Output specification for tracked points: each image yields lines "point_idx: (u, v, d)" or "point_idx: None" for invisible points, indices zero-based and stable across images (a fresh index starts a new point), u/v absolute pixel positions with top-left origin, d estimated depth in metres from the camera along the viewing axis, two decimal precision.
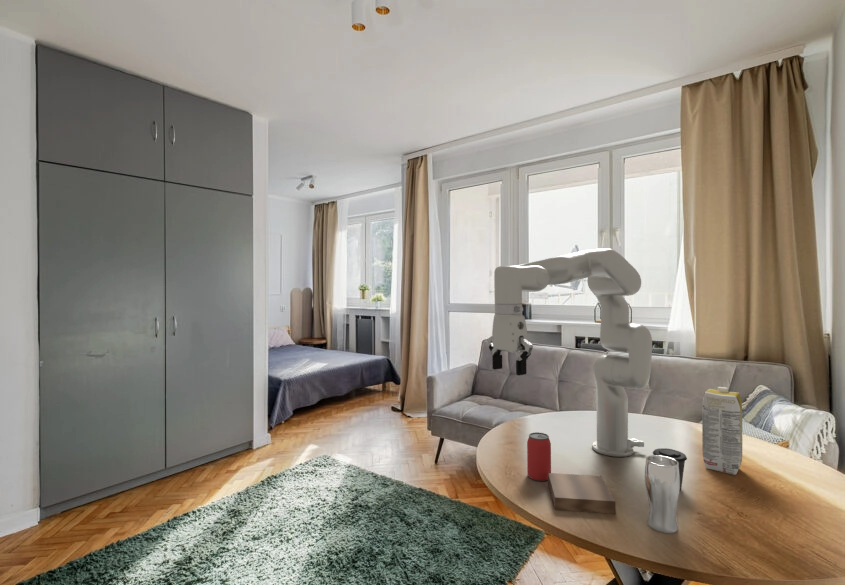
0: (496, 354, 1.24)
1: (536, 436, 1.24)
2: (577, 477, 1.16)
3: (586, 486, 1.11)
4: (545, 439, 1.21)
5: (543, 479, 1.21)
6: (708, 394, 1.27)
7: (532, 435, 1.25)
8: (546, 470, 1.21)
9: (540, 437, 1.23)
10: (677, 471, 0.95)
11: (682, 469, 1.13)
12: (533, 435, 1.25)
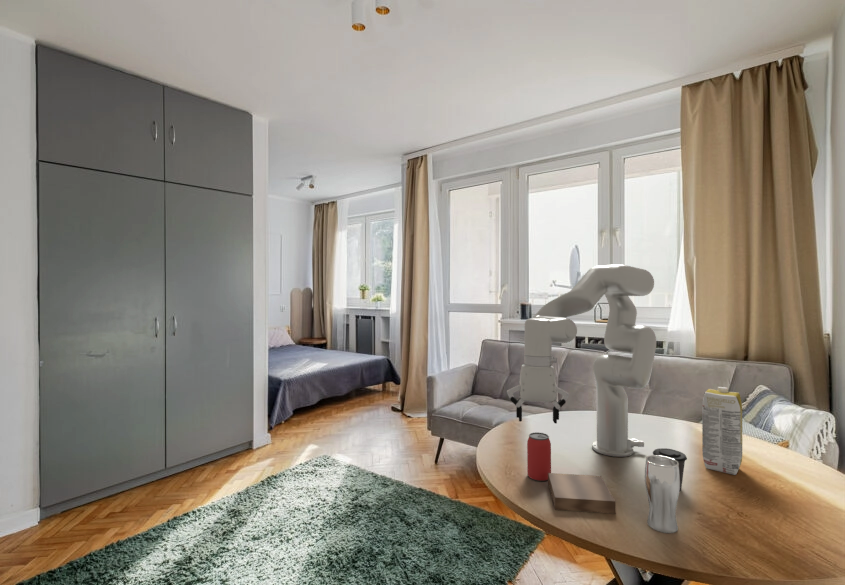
0: (520, 405, 1.24)
1: (536, 436, 1.24)
2: (577, 477, 1.16)
3: (586, 486, 1.11)
4: (545, 439, 1.21)
5: (543, 479, 1.21)
6: (708, 394, 1.27)
7: (532, 435, 1.25)
8: (546, 470, 1.21)
9: (540, 437, 1.23)
10: (677, 471, 0.95)
11: (682, 469, 1.13)
12: (533, 435, 1.25)
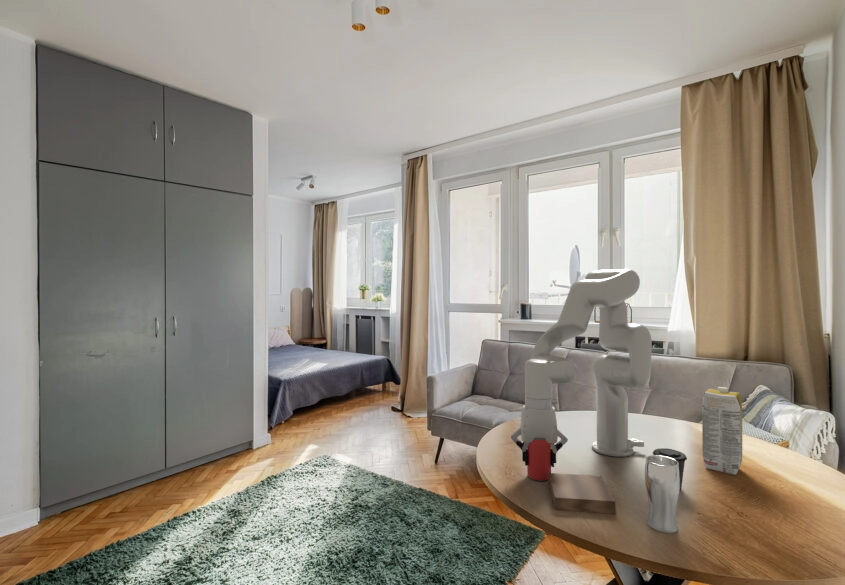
0: (526, 449, 1.24)
1: None
2: (577, 477, 1.16)
3: (586, 486, 1.11)
4: (545, 439, 1.21)
5: (543, 479, 1.21)
6: (708, 394, 1.27)
7: None
8: (546, 470, 1.21)
9: None
10: (677, 471, 0.95)
11: (682, 469, 1.13)
12: None
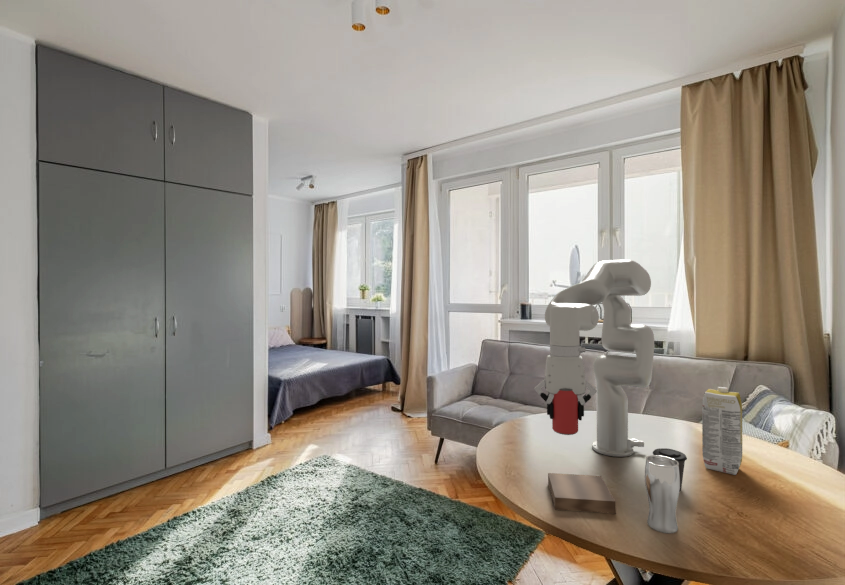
0: (551, 402, 1.15)
1: None
2: (577, 477, 1.16)
3: (586, 486, 1.11)
4: None
5: (570, 432, 1.12)
6: (708, 394, 1.27)
7: None
8: (573, 422, 1.12)
9: None
10: (677, 471, 0.95)
11: (682, 469, 1.13)
12: None
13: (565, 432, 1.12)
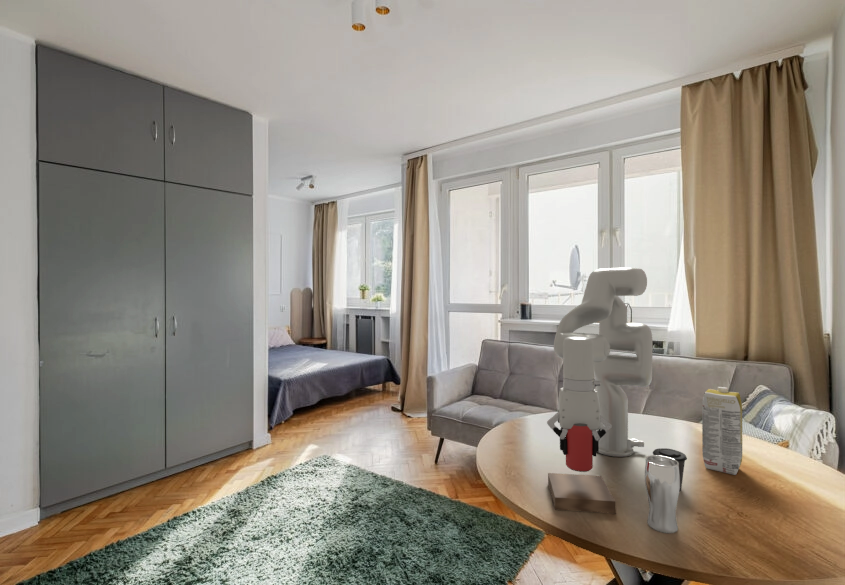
0: (565, 437, 1.11)
1: None
2: (577, 477, 1.16)
3: (586, 486, 1.11)
4: None
5: (585, 470, 1.08)
6: (708, 394, 1.27)
7: None
8: (588, 459, 1.08)
9: None
10: (677, 471, 0.95)
11: (682, 469, 1.13)
12: None
13: (580, 469, 1.08)
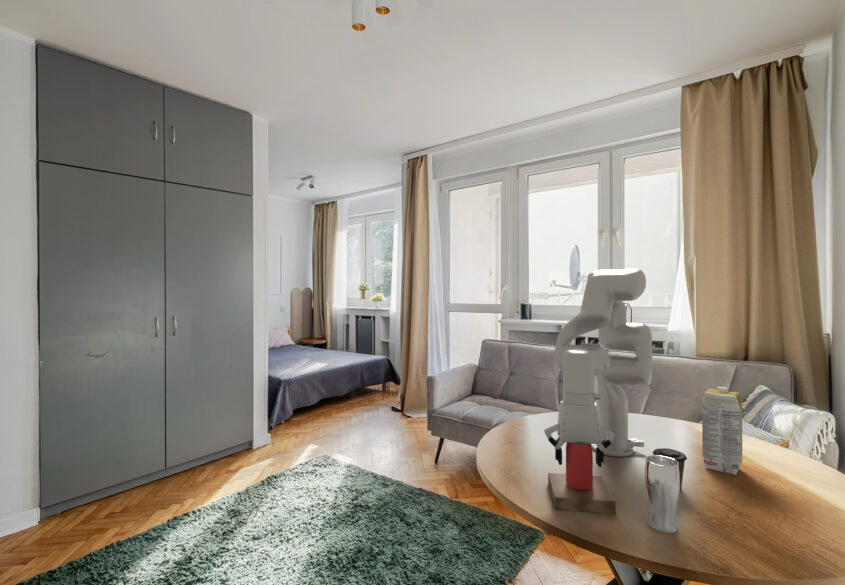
0: None
1: None
2: None
3: None
4: (587, 444, 1.09)
5: (585, 488, 1.08)
6: (708, 394, 1.27)
7: None
8: (588, 478, 1.08)
9: None
10: (677, 471, 0.95)
11: (682, 469, 1.13)
12: None
13: (580, 488, 1.08)
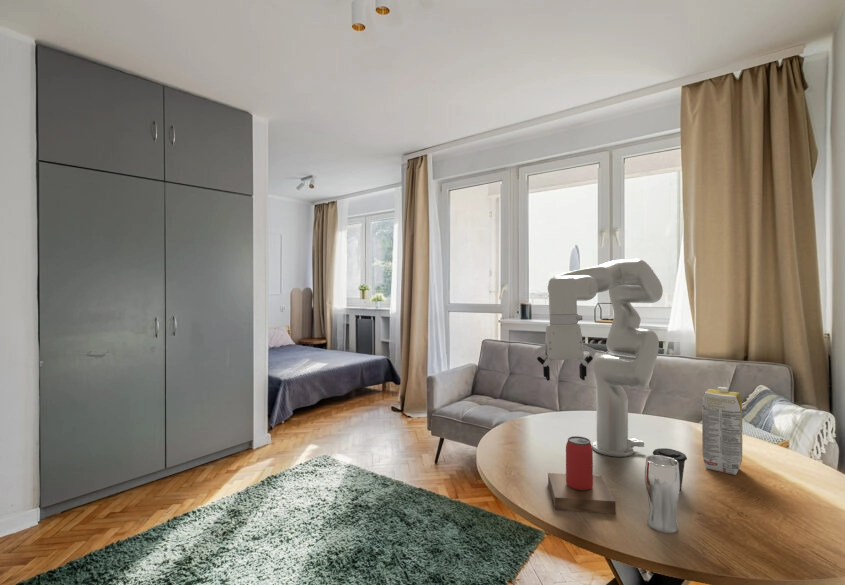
0: (547, 365, 1.24)
1: (576, 440, 1.12)
2: None
3: None
4: (587, 444, 1.09)
5: (585, 488, 1.08)
6: (708, 394, 1.27)
7: (571, 439, 1.12)
8: (588, 478, 1.08)
9: (581, 442, 1.11)
10: (677, 471, 0.95)
11: (682, 469, 1.13)
12: (572, 439, 1.12)
13: (580, 488, 1.08)
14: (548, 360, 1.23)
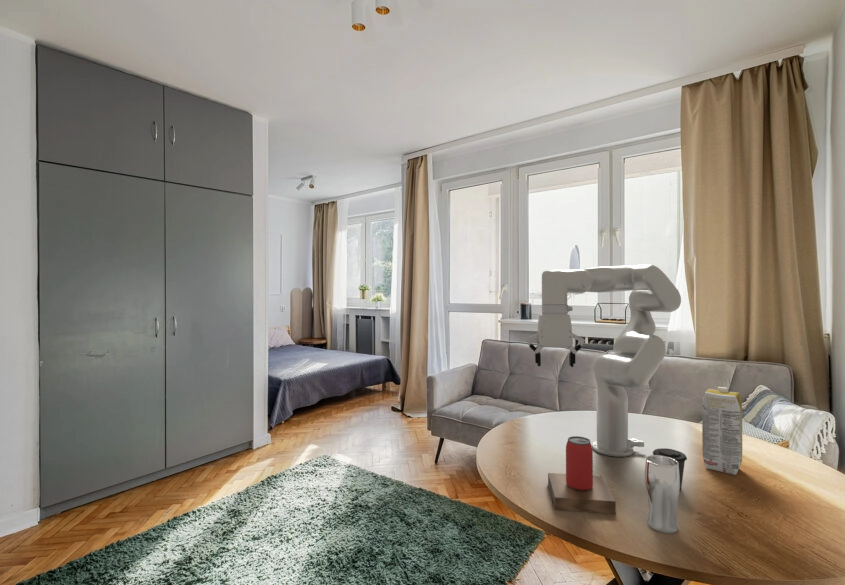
0: None
1: (576, 440, 1.12)
2: None
3: None
4: (587, 444, 1.09)
5: (585, 488, 1.08)
6: (708, 394, 1.27)
7: (571, 439, 1.12)
8: (588, 478, 1.08)
9: (581, 442, 1.11)
10: (677, 471, 0.95)
11: (682, 469, 1.13)
12: (572, 439, 1.12)
13: (580, 488, 1.08)
14: (539, 347, 1.32)
